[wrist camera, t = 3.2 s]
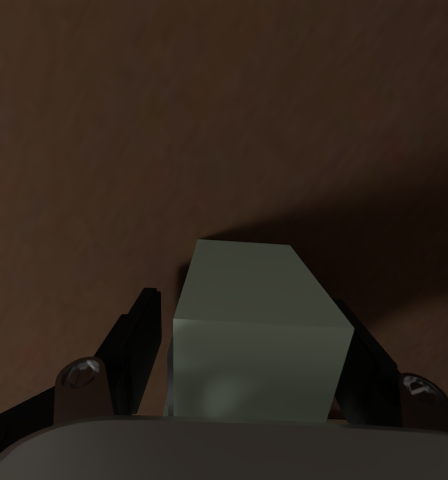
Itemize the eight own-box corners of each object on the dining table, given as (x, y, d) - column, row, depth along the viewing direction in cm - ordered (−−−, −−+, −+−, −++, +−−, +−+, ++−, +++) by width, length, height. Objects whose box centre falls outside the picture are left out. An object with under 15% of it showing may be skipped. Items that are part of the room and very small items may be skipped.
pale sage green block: (192, 238, 11) (162, 317, 6) (289, 245, 12) (354, 328, 6) (189, 352, 14) (166, 489, 8) (270, 356, 14) (304, 494, 8)
